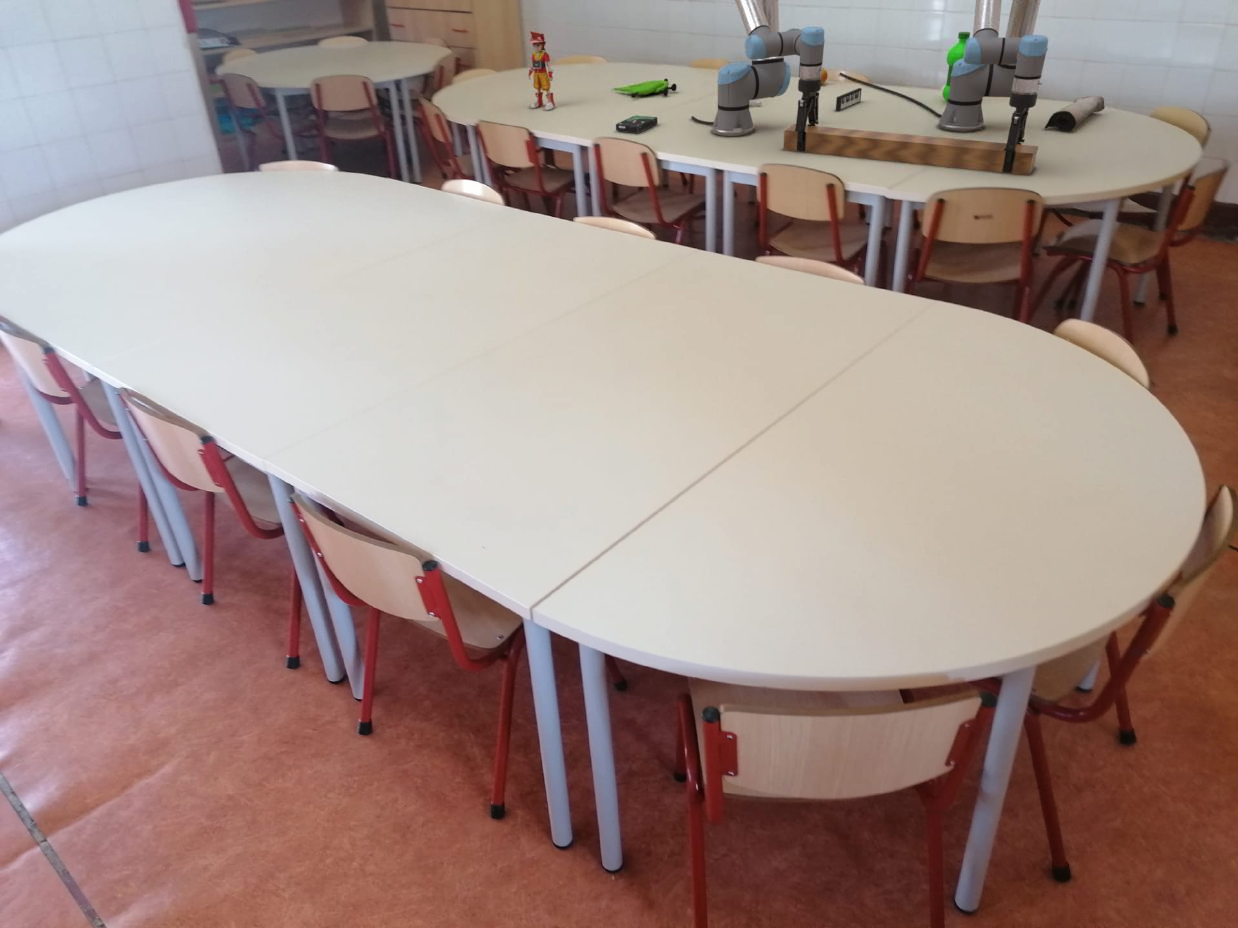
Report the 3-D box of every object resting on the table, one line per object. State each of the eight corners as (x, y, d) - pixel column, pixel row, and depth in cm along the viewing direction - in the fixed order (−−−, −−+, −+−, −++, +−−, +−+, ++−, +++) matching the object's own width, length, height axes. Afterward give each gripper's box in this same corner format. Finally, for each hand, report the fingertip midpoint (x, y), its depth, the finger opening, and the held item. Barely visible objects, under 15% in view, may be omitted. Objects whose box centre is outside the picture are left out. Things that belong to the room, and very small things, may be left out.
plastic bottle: (973, 101, 354) (984, 32, 339) (955, 106, 349) (966, 36, 335) (952, 97, 361) (962, 29, 346) (934, 102, 356) (944, 33, 342)
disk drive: (638, 134, 340) (658, 124, 350) (638, 126, 338) (657, 116, 349) (615, 131, 345) (635, 121, 355) (615, 124, 343) (635, 114, 353)
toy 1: (525, 109, 381) (517, 32, 364) (534, 104, 388) (527, 28, 371) (550, 110, 377) (543, 32, 360) (559, 105, 384) (553, 28, 367)
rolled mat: (1071, 101, 334) (1096, 83, 326) (1085, 121, 335) (1110, 105, 327) (1040, 123, 317) (1065, 105, 309) (1054, 144, 318) (1080, 127, 309)
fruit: (802, 77, 388) (813, 60, 385) (805, 81, 396) (816, 64, 392) (818, 88, 386) (829, 71, 383) (820, 91, 394) (832, 74, 391)
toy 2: (686, 85, 398) (631, 84, 414) (685, 72, 395) (629, 72, 411) (651, 104, 381) (596, 103, 397) (650, 92, 378) (594, 91, 394)
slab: (783, 150, 314) (784, 130, 310) (792, 143, 320) (793, 124, 316) (1028, 175, 278) (1033, 153, 274) (1033, 167, 284) (1038, 146, 280)
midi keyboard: (838, 111, 353) (839, 97, 350) (835, 110, 353) (836, 97, 350) (860, 101, 363) (861, 88, 360) (857, 101, 364) (859, 88, 361)
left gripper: (809, 86, 292) (804, 156, 304) (831, 72, 306) (826, 140, 319) (787, 84, 295) (783, 154, 308) (810, 71, 310) (806, 138, 323)
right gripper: (1031, 101, 261) (1015, 179, 274) (1044, 85, 276) (1028, 159, 289) (1004, 99, 265) (990, 176, 278) (1018, 84, 280) (1004, 157, 292)
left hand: (805, 147), depth 314 cm, fingers closed on slab, 8 cm apart
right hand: (1009, 167), depth 283 cm, fingers closed on slab, 8 cm apart
